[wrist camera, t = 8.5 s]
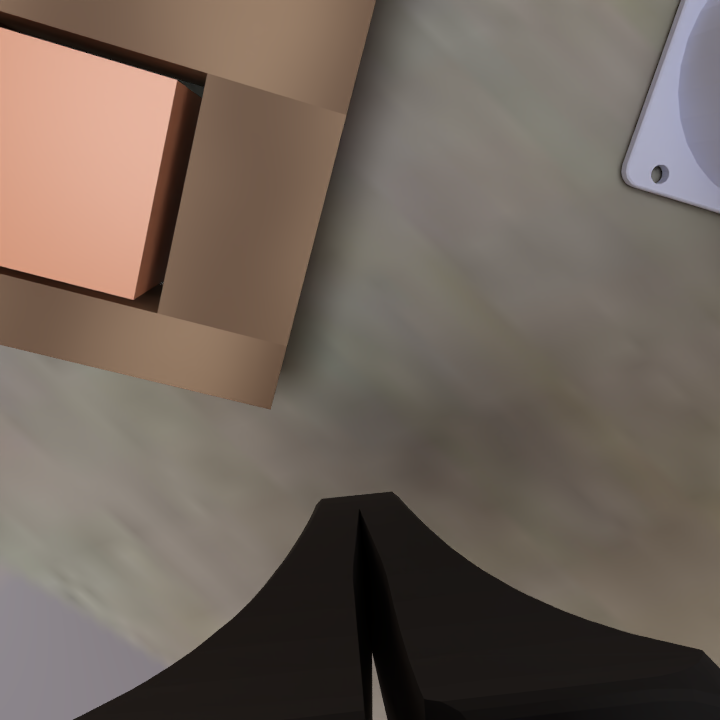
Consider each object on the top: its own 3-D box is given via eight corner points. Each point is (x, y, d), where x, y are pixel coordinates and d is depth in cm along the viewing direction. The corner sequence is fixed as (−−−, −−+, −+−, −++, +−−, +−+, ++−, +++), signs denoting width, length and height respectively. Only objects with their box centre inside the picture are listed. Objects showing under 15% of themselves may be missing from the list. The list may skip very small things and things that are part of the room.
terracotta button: (204, 100, 17) (177, 80, 14) (166, 278, 18) (133, 299, 15) (14, 43, 17) (-62, 8, 13) (-14, 232, 18) (-90, 242, 15)
